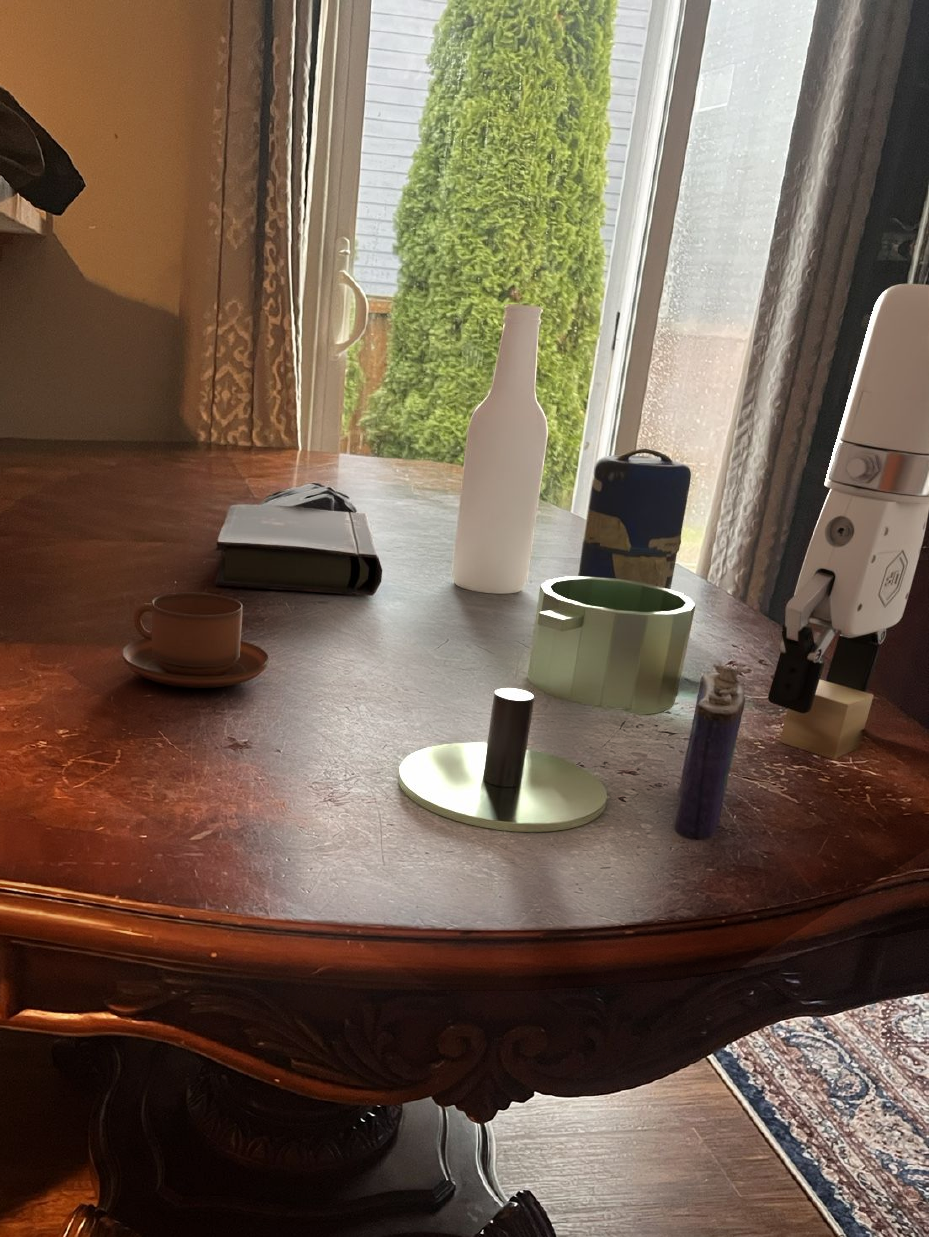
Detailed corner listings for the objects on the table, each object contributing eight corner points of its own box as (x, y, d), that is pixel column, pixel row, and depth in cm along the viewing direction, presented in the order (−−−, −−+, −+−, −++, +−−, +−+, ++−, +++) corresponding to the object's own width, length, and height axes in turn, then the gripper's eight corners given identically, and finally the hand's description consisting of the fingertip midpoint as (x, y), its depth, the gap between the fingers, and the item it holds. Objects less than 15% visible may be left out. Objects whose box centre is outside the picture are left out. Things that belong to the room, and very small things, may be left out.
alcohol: (507, 576, 141) (544, 306, 129) (538, 595, 133) (580, 309, 121) (439, 576, 138) (469, 301, 126) (466, 594, 131) (501, 303, 119)
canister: (673, 643, 118) (709, 459, 111) (580, 636, 118) (610, 451, 110) (648, 618, 127) (680, 446, 119) (561, 612, 126) (588, 439, 119)
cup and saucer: (103, 690, 92) (102, 613, 90) (145, 649, 103) (145, 580, 101) (252, 707, 91) (255, 630, 89) (278, 663, 102) (282, 594, 100)
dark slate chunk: (361, 509, 177) (363, 476, 175) (363, 537, 157) (366, 501, 155) (260, 501, 177) (261, 469, 175) (249, 528, 157) (250, 492, 155)
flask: (676, 791, 81) (707, 642, 77) (719, 799, 80) (754, 649, 76) (668, 844, 73) (703, 681, 69) (717, 853, 72) (755, 689, 68)
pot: (718, 693, 103) (739, 598, 100) (600, 732, 92) (619, 626, 88) (599, 656, 111) (615, 568, 108) (477, 687, 100) (490, 589, 96)
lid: (645, 807, 78) (665, 706, 75) (516, 861, 69) (533, 748, 66) (486, 744, 87) (499, 651, 84) (354, 784, 78) (363, 682, 75)
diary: (368, 551, 149) (371, 511, 147) (380, 599, 126) (384, 552, 124) (222, 540, 148) (223, 500, 146) (207, 587, 125) (208, 540, 123)
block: (859, 748, 92) (874, 694, 90) (833, 760, 89) (848, 704, 88) (805, 731, 95) (818, 678, 93) (778, 742, 92) (792, 688, 91)
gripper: (885, 488, 76) (812, 732, 83) (982, 479, 87) (910, 695, 94) (779, 466, 81) (718, 699, 88) (883, 460, 92) (822, 667, 99)
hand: (817, 697), depth 91 cm, fingers open, 9 cm apart
